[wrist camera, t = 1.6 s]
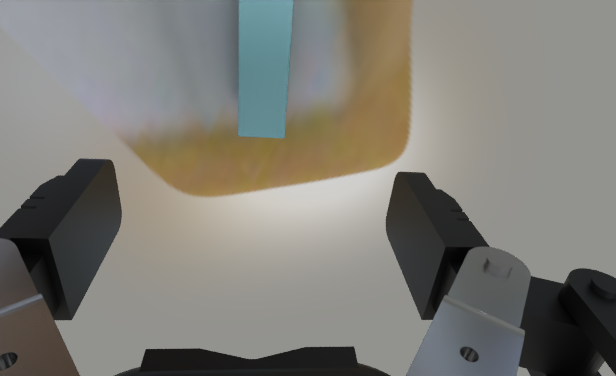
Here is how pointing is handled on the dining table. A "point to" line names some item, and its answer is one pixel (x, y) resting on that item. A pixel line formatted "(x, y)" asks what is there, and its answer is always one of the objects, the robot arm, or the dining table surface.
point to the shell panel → (263, 66)
